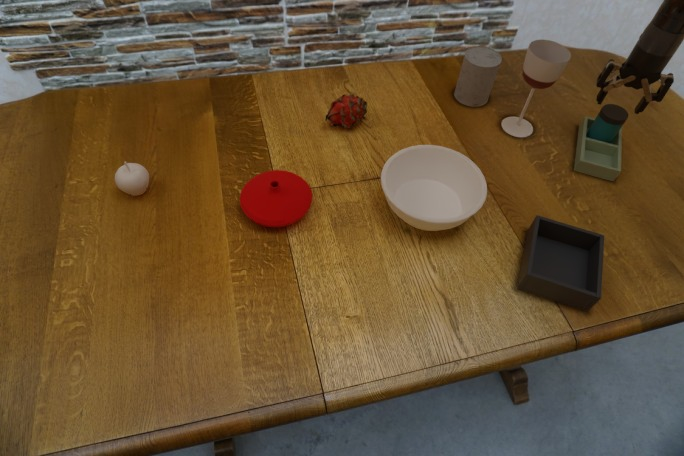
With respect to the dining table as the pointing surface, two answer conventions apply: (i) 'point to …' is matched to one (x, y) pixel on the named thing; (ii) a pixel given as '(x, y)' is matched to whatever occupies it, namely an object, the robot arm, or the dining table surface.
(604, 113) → the travel mug
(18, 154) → the dining table surface
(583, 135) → the green divided tray
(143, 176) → the plain white apple
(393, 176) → the bowl
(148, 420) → the dining table surface
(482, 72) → the gray cylinder
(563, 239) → the dark grey open box
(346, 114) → the dragon fruit
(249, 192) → the red disc with nozzle
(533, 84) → the wineglass
